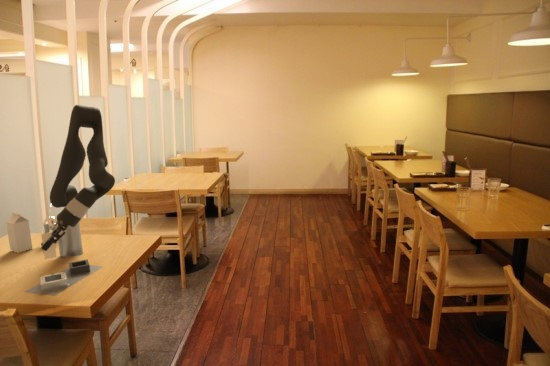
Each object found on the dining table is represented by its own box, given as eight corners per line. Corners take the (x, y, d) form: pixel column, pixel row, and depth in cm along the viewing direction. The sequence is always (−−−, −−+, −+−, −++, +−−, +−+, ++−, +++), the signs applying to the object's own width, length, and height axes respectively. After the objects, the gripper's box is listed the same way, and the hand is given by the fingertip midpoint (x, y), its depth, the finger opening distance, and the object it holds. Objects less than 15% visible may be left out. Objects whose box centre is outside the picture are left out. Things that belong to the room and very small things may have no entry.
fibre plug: (45, 259, 161) (40, 226, 158) (44, 256, 164) (39, 223, 162) (56, 257, 163) (52, 224, 160) (56, 253, 166) (51, 222, 164)
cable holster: (71, 275, 175) (70, 268, 174) (69, 269, 181) (69, 262, 180) (90, 271, 178) (89, 264, 178) (88, 265, 184) (87, 259, 184)
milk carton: (18, 253, 206) (12, 215, 202) (10, 251, 210) (4, 214, 206) (32, 249, 212) (27, 212, 208) (25, 246, 215) (19, 210, 212)
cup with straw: (41, 244, 219) (35, 206, 215) (53, 238, 227) (48, 202, 223) (55, 244, 217) (50, 207, 213) (67, 239, 225) (62, 202, 221)
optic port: (41, 292, 160) (40, 284, 159) (40, 283, 167) (39, 276, 167) (67, 286, 164) (66, 278, 163) (66, 278, 172) (65, 271, 171)
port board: (24, 295, 161) (24, 291, 160) (76, 267, 187) (75, 263, 187) (55, 299, 157) (54, 295, 157) (103, 269, 184) (103, 266, 183)
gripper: (64, 202, 169) (34, 237, 166) (67, 210, 157) (34, 248, 154) (80, 213, 173) (51, 247, 169) (84, 221, 161) (52, 258, 157)
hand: (43, 247), depth 162 cm, fingers closed on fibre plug, 4 cm apart
